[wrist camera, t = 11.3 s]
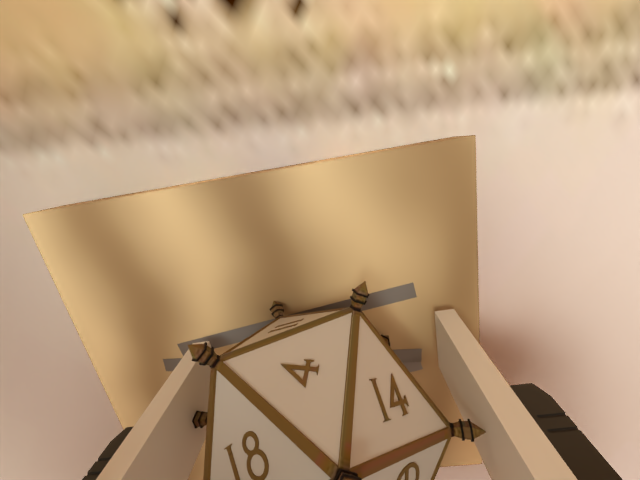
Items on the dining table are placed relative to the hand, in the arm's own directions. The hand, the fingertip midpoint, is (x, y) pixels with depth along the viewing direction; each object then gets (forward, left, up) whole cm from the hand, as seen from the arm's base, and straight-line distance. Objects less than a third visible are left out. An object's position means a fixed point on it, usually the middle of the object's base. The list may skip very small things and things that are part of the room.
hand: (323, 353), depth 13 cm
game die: (0, 0, -1) cm, 1 cm away
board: (-2, 0, -3) cm, 4 cm away
